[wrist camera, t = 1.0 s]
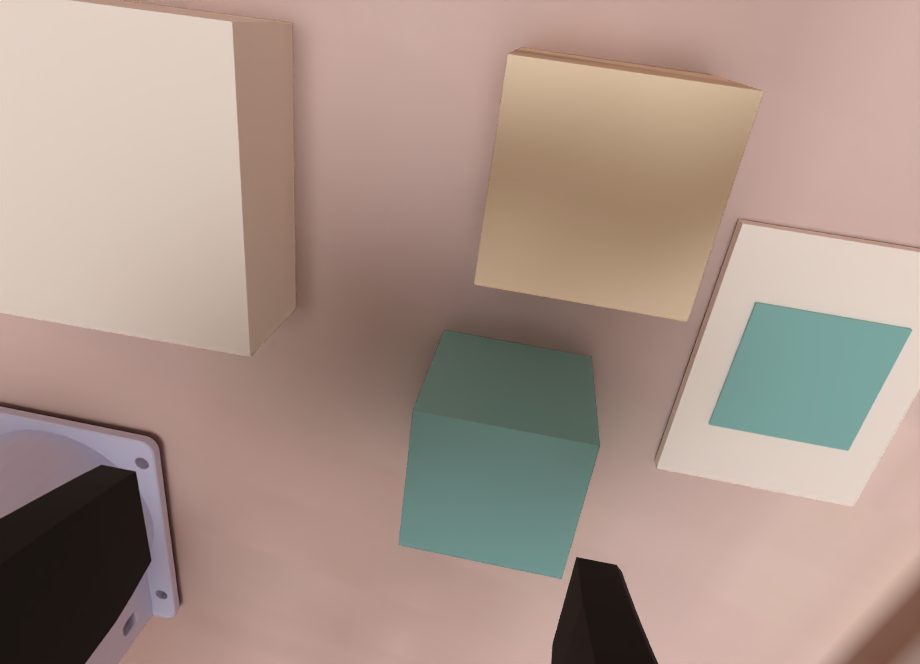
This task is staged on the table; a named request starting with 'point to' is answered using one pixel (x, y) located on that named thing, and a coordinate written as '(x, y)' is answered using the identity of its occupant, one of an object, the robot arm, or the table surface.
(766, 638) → the table surface
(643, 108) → the birch block
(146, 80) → the base block
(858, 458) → the tile
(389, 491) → the table surface
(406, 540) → the teal block
